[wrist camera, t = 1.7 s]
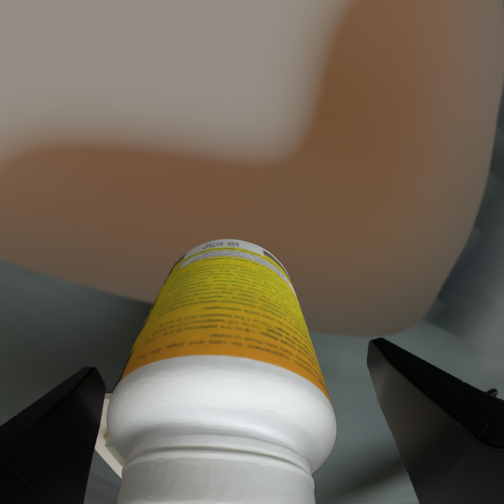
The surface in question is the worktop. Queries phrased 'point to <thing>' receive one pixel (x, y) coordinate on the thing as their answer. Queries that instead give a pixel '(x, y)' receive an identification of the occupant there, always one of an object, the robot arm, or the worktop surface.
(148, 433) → the supplement bottle
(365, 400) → the worktop surface
